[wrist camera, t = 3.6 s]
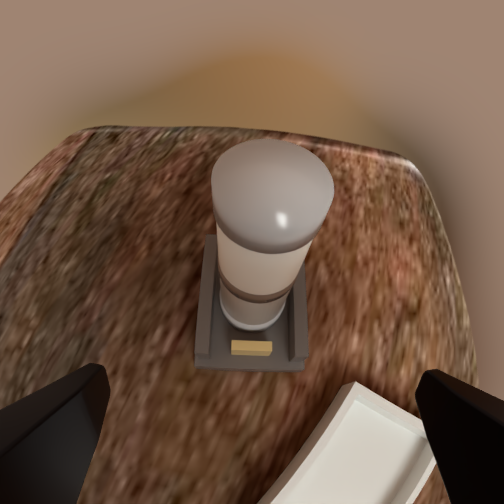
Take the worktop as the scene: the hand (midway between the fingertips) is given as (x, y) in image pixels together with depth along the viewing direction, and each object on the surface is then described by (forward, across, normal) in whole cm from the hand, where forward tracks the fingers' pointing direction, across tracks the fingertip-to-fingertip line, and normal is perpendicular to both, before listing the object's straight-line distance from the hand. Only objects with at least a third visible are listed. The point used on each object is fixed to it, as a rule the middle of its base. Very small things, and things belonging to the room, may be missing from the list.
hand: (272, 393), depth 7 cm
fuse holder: (+14, 0, +4) cm, 14 cm away
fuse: (+13, 0, +3) cm, 13 cm away
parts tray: (+4, -7, +14) cm, 16 cm away
